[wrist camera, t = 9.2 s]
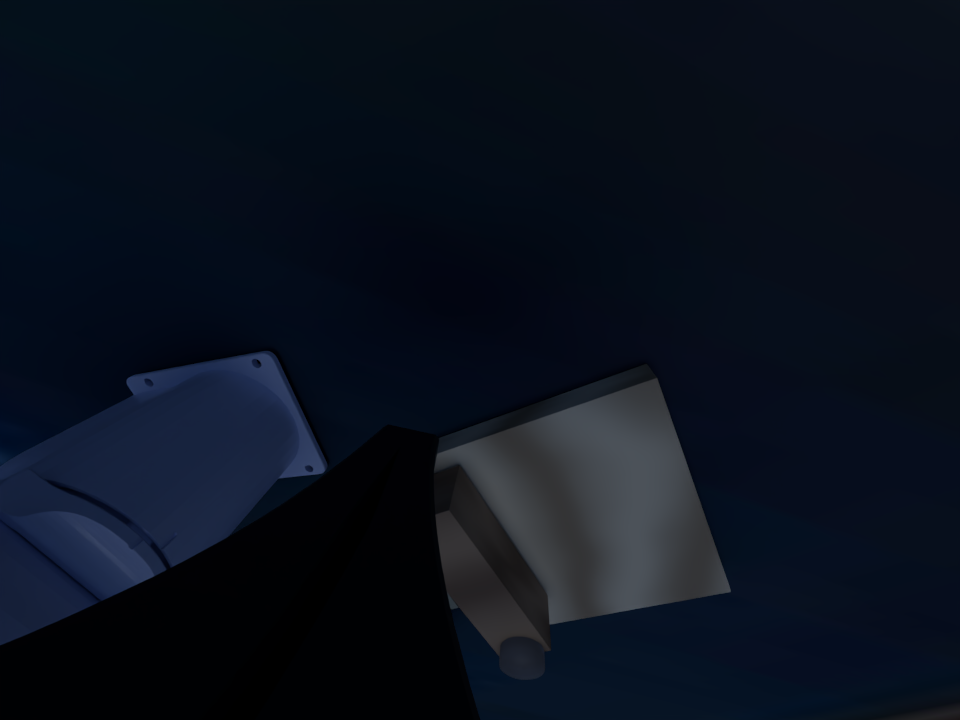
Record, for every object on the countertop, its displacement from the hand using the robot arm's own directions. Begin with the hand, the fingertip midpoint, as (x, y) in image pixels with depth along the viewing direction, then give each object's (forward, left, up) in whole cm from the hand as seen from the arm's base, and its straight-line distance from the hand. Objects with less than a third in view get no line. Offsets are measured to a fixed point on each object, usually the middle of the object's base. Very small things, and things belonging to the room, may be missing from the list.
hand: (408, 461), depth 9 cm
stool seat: (+3, -12, -9) cm, 16 cm away
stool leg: (-1, -13, -8) cm, 15 cm away
